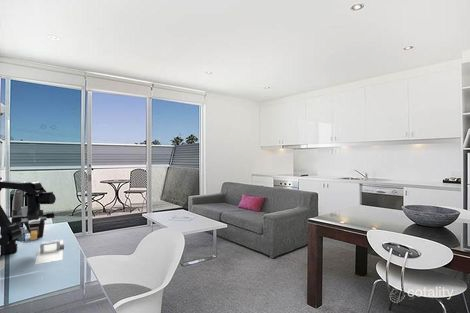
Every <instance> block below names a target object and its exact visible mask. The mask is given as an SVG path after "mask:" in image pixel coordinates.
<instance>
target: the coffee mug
mask: <svg viewBox="0 0 470 313" xmlns="http://www.w3.org/2000/svg"><path fill="white" fill-rule="evenodd" d="M45 221H46V220H45ZM45 221H44V222H43V224H42V227H41V230H40V232H39V235H37V239H39V238H40V239H41V238H43V237H44V232H45ZM39 225H40V220H32V221H29V226H30V228H34V227H39Z"/></svg>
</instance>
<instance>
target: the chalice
mask: <svg viewBox="0 0 470 313" xmlns="http://www.w3.org/2000/svg"><path fill="white" fill-rule="evenodd" d="M20 208H21V215H22V217H23V216H27V212H28V210H27V206H26V205H25V206H21V207H20ZM22 233H23V234H30V233H29V232H28V230H27V228H25V229H24V230H23V232H22Z"/></svg>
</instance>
